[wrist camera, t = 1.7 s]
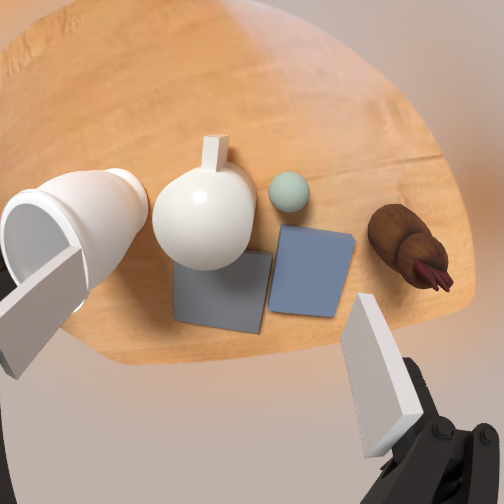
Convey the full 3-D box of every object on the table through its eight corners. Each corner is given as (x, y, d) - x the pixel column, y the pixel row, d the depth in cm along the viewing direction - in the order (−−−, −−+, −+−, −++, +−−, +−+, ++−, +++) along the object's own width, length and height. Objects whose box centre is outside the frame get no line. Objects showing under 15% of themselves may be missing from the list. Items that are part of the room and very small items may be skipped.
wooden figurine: (350, 224, 31) (403, 300, 17) (384, 187, 29) (461, 238, 15) (387, 259, 33) (443, 341, 19) (419, 225, 30) (493, 291, 17)
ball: (265, 203, 31) (265, 214, 27) (271, 166, 29) (271, 172, 25) (303, 209, 31) (307, 220, 27) (309, 172, 29) (315, 179, 25)
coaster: (176, 315, 38) (174, 320, 37) (176, 239, 33) (173, 242, 32) (258, 328, 38) (258, 333, 37) (272, 252, 33) (272, 256, 32)
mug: (180, 227, 32) (152, 262, 24) (187, 131, 28) (156, 134, 20) (251, 236, 32) (245, 277, 24) (265, 139, 28) (263, 144, 20)
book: (267, 299, 36) (267, 310, 34) (280, 222, 32) (281, 230, 30) (330, 306, 36) (334, 317, 34) (350, 232, 32) (356, 240, 30)
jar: (162, 245, 33) (103, 323, 20) (91, 244, 34) (19, 308, 20) (153, 154, 29) (70, 183, 15) (78, 163, 30) (-13, 197, 16)
